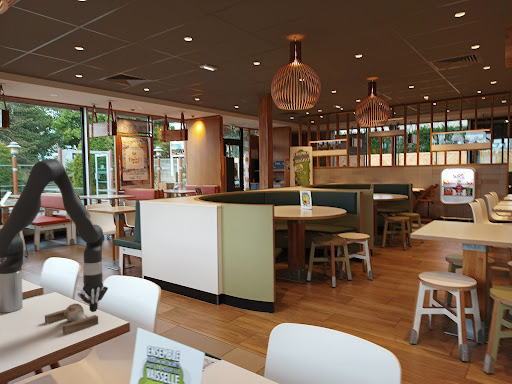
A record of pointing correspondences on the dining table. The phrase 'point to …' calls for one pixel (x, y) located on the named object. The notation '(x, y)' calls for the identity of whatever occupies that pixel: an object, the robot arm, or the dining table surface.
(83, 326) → the wooden guide rails
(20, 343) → the dining table surface
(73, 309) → the mug
